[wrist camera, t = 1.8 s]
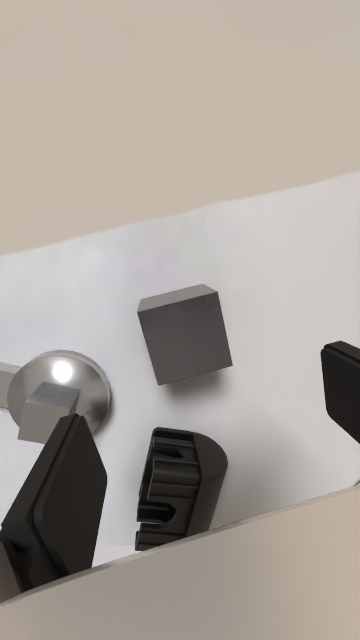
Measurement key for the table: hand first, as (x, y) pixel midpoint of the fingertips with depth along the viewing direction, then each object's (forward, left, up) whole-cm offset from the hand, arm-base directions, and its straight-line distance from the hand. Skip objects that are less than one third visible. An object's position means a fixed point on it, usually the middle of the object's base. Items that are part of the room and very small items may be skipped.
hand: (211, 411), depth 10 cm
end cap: (-5, +16, -16) cm, 23 cm away
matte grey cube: (0, 0, -16) cm, 16 cm away
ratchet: (+15, +10, -16) cm, 24 cm away
